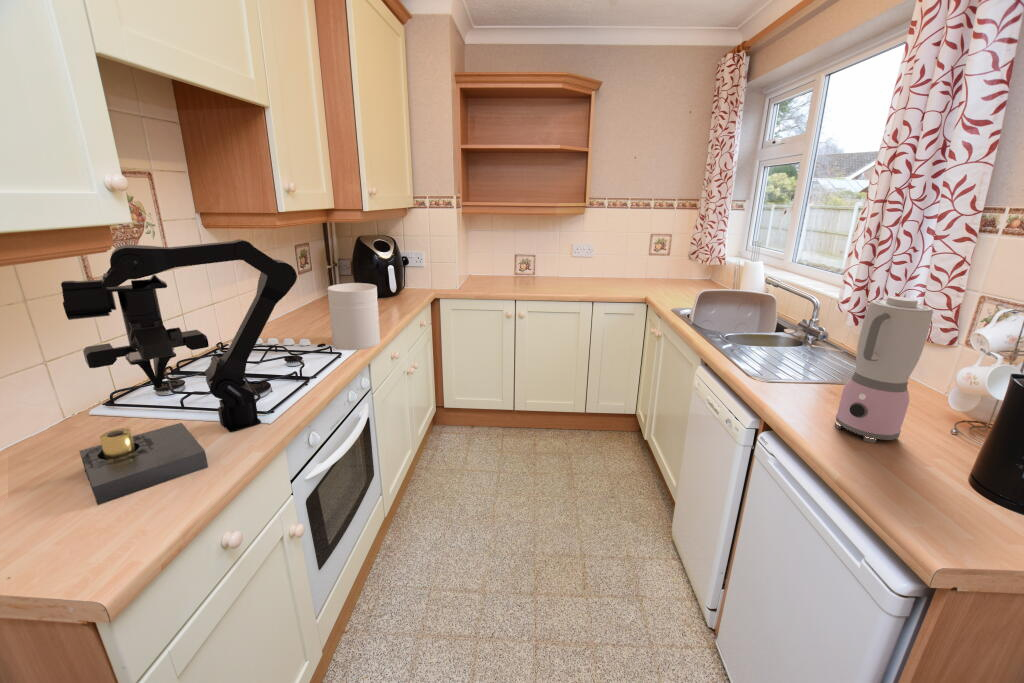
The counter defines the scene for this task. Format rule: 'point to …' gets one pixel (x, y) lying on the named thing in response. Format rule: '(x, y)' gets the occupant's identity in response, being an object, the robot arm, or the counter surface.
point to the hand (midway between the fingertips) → (158, 387)
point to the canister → (354, 315)
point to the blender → (884, 368)
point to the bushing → (117, 443)
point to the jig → (144, 463)
